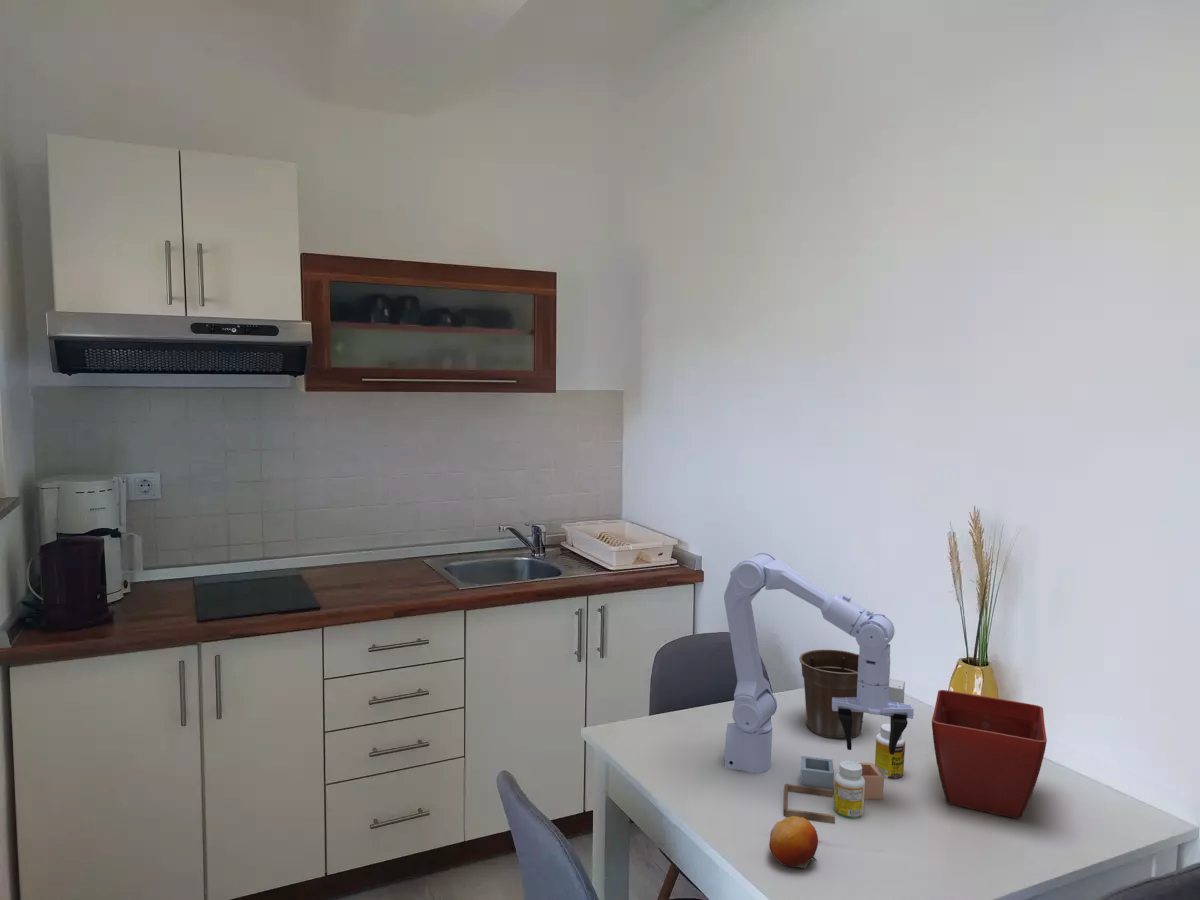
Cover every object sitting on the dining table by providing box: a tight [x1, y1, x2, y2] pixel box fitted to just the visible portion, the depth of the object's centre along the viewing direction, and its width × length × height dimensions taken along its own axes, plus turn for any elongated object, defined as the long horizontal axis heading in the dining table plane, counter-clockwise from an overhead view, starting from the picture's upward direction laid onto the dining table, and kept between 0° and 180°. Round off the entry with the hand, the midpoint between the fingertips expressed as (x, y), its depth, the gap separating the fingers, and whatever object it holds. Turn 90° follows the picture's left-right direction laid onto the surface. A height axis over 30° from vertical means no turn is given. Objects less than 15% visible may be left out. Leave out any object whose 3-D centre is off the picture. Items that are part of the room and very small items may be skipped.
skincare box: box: [882, 678, 906, 717], centre depth 201 cm, size 6×6×7 cm
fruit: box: [768, 816, 819, 870], centre depth 138 cm, size 8×8×8 cm
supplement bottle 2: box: [874, 723, 906, 780], centre depth 167 cm, size 6×6×10 cm
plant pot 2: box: [931, 689, 1048, 819], centre depth 159 cm, size 19×19×17 cm
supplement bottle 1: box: [833, 759, 865, 820], centre depth 152 cm, size 5×5×10 cm
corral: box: [783, 783, 836, 824], centre depth 154 cm, size 9×10×2 cm
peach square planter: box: [858, 762, 885, 800], centre depth 160 cm, size 6×6×5 cm
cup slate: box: [800, 755, 835, 796], centre depth 162 cm, size 6×6×5 cm
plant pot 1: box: [798, 649, 865, 739], centre depth 190 cm, size 16×16×16 cm
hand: (870, 750), depth 157 cm, fingers open, 7 cm apart
